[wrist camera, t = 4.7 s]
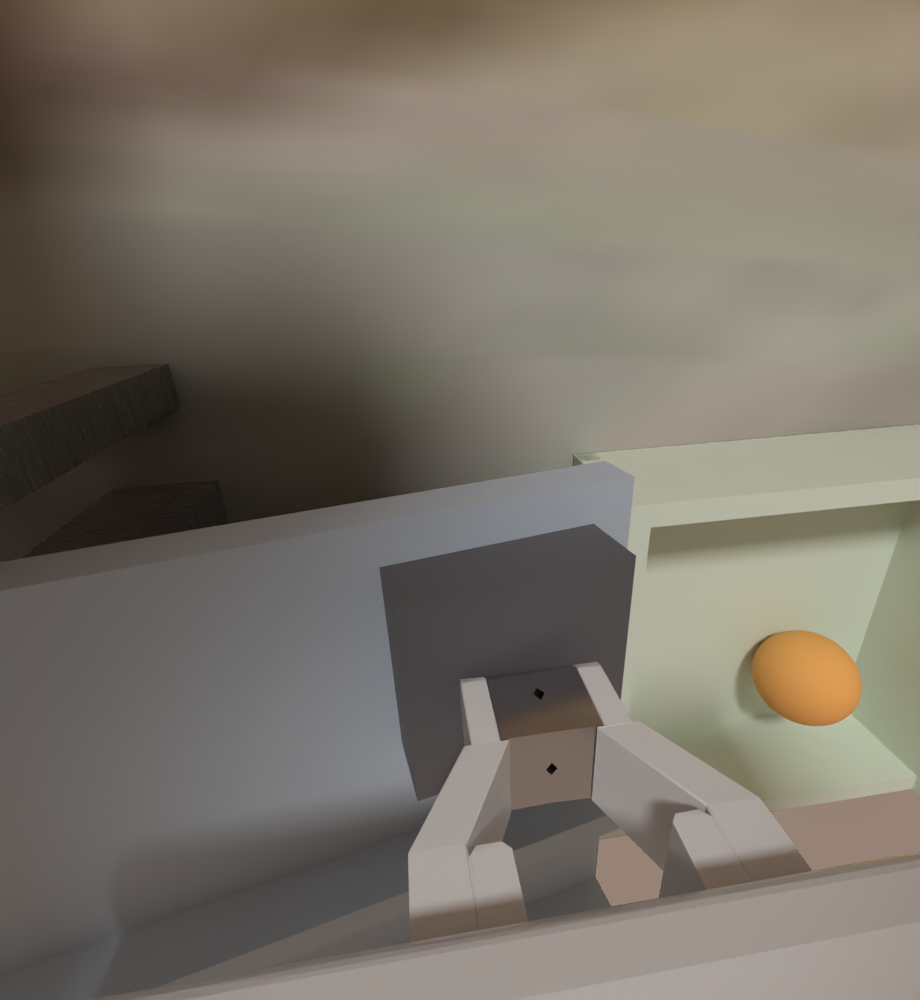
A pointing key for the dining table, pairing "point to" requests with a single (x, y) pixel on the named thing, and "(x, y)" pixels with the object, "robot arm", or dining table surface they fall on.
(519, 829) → the seesaw lever
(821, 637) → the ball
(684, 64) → the dining table surface
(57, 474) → the fulcrum stand
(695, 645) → the bin
